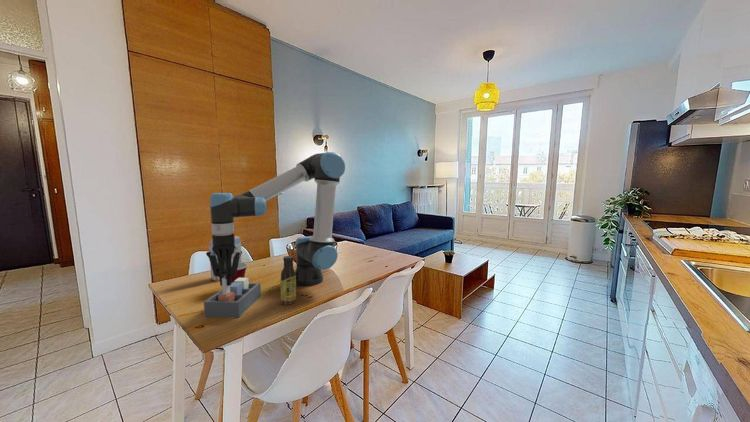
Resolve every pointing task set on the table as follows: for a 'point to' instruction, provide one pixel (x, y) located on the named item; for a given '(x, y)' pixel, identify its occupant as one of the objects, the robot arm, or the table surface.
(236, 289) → the light blue block
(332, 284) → the table surface
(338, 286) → the table surface
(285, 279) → the sauce bottle
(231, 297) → the salmon red block
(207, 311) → the grey compartment tray
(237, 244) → the cracker box
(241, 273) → the plastic cup
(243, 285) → the white block
